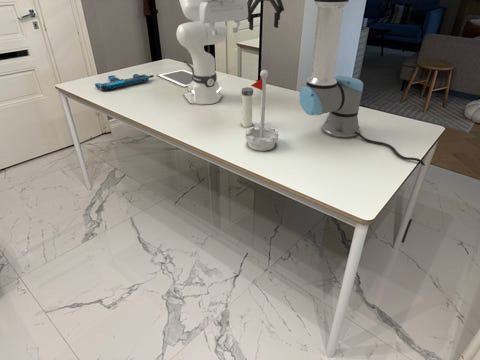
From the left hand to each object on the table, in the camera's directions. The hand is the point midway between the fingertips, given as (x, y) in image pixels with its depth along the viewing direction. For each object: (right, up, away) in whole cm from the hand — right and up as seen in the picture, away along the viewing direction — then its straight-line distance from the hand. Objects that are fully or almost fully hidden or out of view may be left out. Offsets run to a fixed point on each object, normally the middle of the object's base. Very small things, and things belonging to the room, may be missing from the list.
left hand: (225, 33), depth 135 cm
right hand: (+17, +15, +28) cm, 36 cm away
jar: (+9, -33, +20) cm, 40 cm away
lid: (+9, -19, +11) cm, 24 cm away
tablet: (-30, +7, +81) cm, 87 cm away
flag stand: (+15, -44, +4) cm, 46 cm away
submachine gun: (-66, +2, +74) cm, 99 cm away
